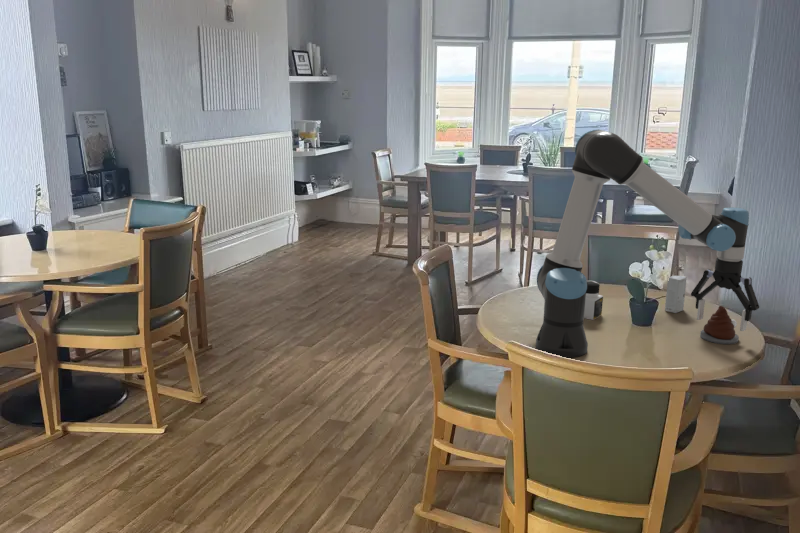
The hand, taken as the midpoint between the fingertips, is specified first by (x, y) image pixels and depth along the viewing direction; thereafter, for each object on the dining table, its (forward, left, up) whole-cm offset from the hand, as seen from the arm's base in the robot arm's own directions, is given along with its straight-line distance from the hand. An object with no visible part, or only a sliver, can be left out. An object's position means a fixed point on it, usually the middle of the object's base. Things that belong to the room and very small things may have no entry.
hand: (720, 324), depth 218 cm
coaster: (0, 0, -4) cm, 4 cm away
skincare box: (+16, +24, -5) cm, 29 cm away
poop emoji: (0, 0, -4) cm, 4 cm away
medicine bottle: (-13, +40, -5) cm, 42 cm away
